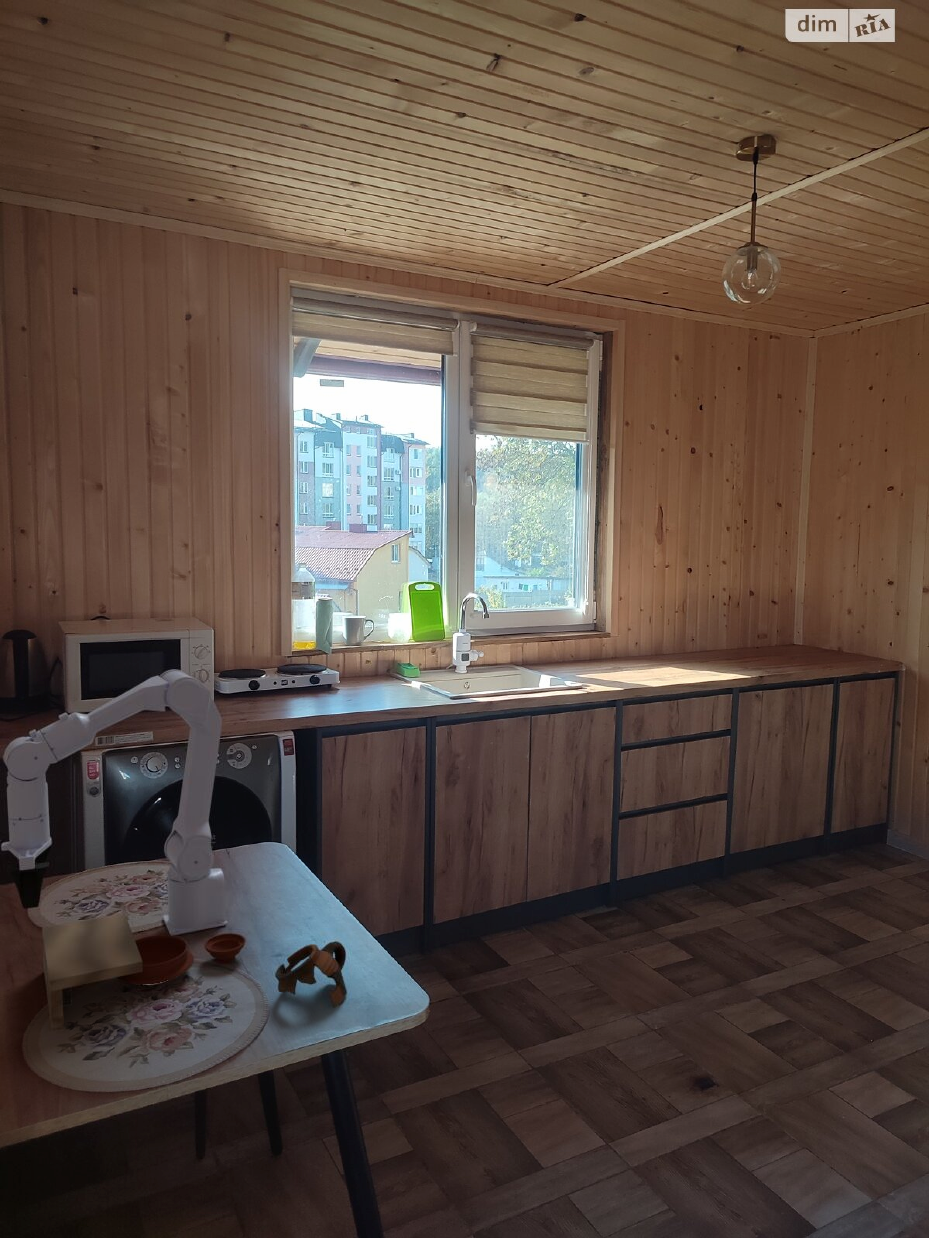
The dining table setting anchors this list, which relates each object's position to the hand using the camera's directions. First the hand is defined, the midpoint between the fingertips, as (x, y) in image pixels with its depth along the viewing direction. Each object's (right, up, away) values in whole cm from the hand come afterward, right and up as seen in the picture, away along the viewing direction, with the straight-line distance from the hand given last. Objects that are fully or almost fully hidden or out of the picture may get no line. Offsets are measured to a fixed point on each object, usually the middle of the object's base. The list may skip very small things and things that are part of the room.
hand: (32, 897), depth 141 cm
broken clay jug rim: (+47, -12, -9) cm, 49 cm away
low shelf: (+13, -11, -8) cm, 19 cm away
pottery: (+24, -11, -2) cm, 27 cm away
